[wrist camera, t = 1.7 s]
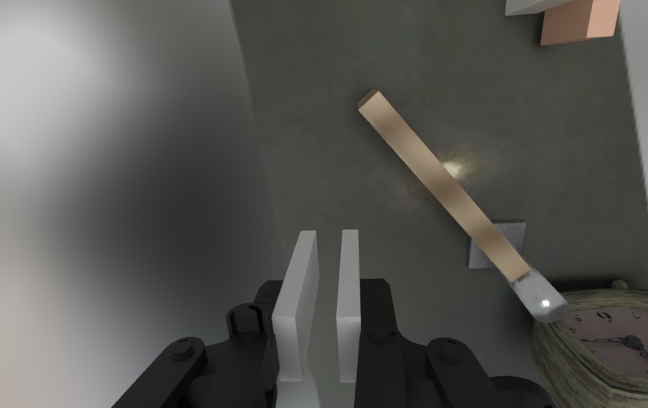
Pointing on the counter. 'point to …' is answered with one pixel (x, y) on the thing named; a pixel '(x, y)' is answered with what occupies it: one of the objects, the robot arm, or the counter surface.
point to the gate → (441, 183)
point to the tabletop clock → (596, 349)
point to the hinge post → (530, 285)
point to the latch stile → (569, 18)
